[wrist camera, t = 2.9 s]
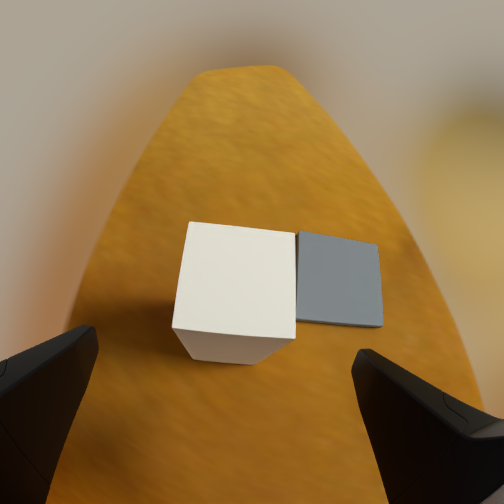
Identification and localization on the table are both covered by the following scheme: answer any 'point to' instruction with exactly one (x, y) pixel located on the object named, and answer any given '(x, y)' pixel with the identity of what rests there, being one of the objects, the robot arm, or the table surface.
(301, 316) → the slate mat
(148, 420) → the table surface
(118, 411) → the table surface
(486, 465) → the robot arm
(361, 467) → the table surface
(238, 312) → the tall block
